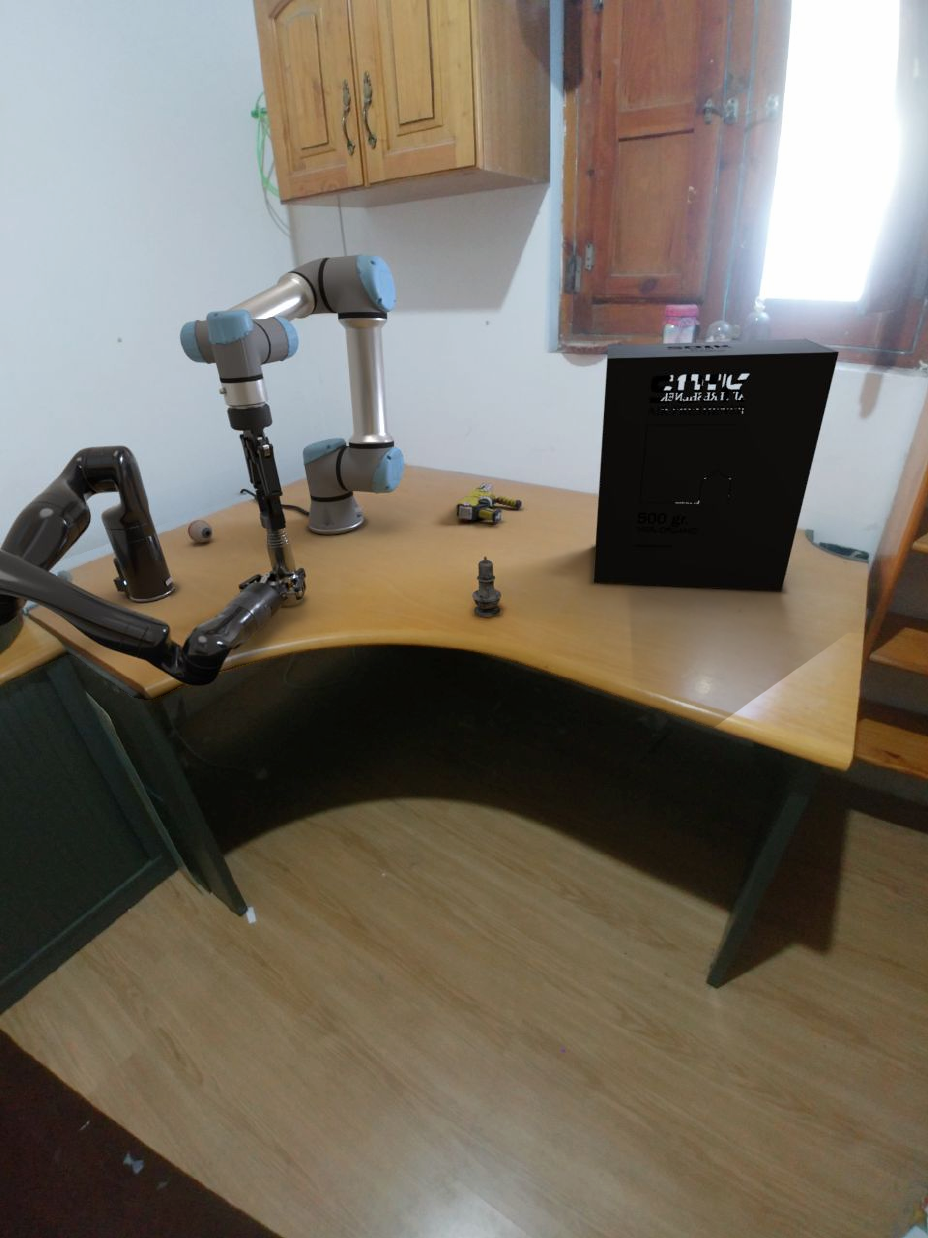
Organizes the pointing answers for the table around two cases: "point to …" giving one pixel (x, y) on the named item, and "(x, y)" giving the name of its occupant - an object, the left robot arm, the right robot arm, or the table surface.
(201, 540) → the eyeball
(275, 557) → the bottle
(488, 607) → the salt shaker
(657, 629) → the table surface
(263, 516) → the cap
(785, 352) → the cardboard box
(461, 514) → the toy gun
